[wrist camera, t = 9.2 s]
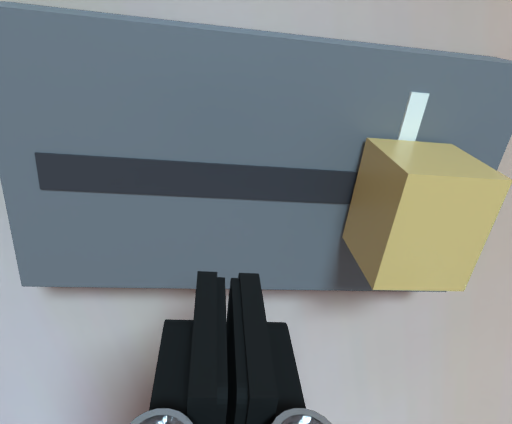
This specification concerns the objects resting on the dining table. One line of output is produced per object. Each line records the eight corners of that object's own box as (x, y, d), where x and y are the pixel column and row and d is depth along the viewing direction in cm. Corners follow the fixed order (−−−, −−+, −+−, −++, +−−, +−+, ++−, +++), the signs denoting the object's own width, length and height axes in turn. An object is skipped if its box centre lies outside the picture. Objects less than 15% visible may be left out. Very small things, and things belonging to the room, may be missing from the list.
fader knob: (451, 143, 18) (512, 180, 14) (418, 239, 20) (463, 291, 17) (366, 137, 17) (408, 173, 14) (342, 237, 20) (372, 290, 16)
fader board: (494, 57, 20) (541, 67, 17) (420, 260, 25) (447, 293, 22) (3, 1, 16) (-37, 2, 13) (43, 251, 22) (20, 287, 19)
